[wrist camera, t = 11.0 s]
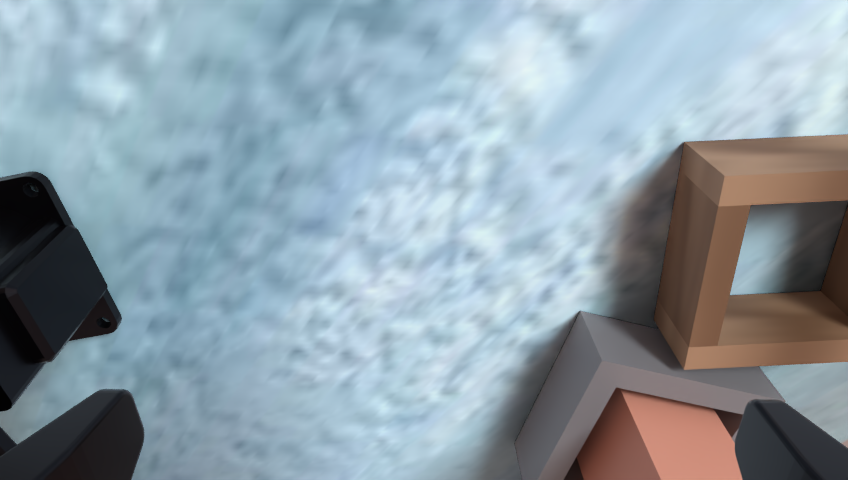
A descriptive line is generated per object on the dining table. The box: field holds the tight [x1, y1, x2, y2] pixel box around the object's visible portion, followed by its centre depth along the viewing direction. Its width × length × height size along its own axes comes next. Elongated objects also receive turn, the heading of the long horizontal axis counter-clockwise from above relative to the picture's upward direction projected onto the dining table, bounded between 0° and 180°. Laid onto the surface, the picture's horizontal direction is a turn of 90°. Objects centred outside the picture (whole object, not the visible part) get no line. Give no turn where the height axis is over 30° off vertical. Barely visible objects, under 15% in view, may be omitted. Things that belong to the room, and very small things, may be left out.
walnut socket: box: [654, 134, 848, 370], centre depth 22 cm, size 7×7×3 cm
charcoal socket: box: [514, 311, 785, 480], centre depth 25 cm, size 7×7×3 cm
